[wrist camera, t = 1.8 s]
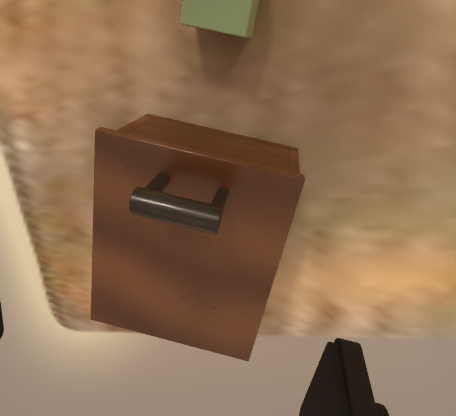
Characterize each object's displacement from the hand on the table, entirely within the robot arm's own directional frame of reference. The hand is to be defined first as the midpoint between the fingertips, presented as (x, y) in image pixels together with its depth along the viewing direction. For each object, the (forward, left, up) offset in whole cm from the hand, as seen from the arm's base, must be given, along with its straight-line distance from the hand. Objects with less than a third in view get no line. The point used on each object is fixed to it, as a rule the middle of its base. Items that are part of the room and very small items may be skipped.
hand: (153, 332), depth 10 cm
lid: (+3, -8, -15) cm, 17 cm away
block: (-8, +6, -24) cm, 26 cm away
